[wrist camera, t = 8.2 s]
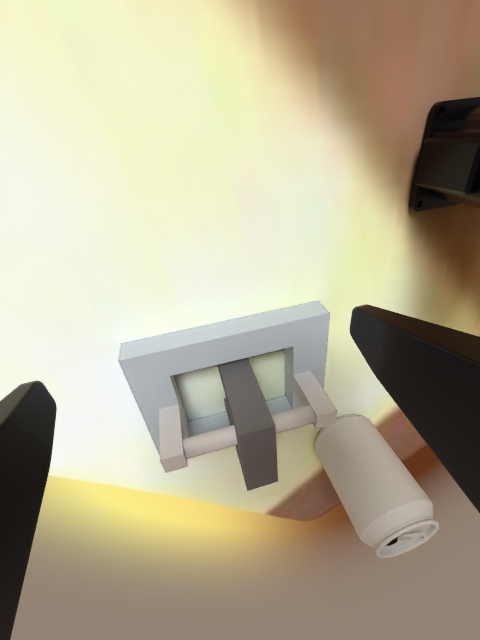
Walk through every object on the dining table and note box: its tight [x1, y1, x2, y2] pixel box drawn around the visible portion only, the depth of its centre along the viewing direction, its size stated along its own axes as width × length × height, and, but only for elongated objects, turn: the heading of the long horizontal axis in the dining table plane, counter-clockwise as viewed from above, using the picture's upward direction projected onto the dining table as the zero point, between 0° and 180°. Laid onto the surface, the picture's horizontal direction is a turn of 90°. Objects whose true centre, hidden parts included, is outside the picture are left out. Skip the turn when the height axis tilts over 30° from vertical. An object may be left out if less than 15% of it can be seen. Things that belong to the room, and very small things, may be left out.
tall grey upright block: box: [218, 358, 278, 491], centre depth 23 cm, size 2×7×8 cm, turn 6°
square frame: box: [118, 301, 337, 473], centre depth 24 cm, size 16×13×6 cm
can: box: [315, 415, 439, 558], centre depth 31 cm, size 8×8×12 cm
